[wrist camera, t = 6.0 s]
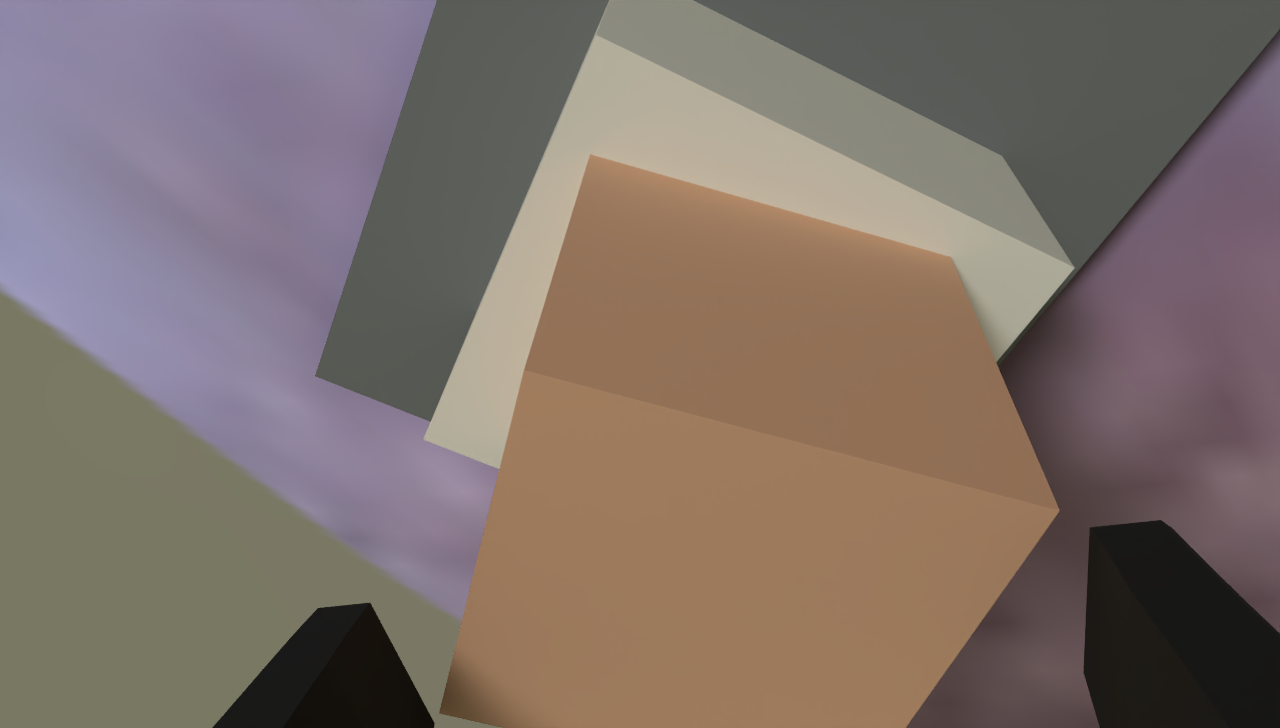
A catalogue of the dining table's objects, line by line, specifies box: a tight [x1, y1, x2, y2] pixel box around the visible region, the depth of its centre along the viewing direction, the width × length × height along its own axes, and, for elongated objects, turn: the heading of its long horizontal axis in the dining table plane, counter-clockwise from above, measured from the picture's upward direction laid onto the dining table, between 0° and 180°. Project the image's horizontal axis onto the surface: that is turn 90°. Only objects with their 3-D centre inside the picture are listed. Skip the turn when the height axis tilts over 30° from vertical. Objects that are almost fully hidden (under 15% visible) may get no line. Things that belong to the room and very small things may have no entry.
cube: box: [440, 154, 1060, 728], centre depth 12 cm, size 5×5×5 cm
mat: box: [315, 0, 1280, 422], centre depth 16 cm, size 12×18×1 cm, turn 155°
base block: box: [423, 0, 1075, 469], centre depth 16 cm, size 7×7×4 cm
